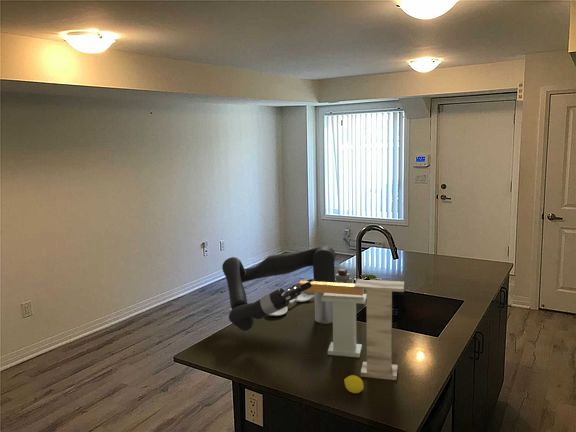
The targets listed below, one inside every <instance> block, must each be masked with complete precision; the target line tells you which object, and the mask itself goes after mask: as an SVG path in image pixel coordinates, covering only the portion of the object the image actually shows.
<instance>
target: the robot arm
mask: <svg viewBox="0 0 576 432" xmlns="http://www.w3.org/2000/svg"><path fill="white" fill-rule="evenodd" d="M335 261H336V251H335V250H334V249H333V247H330V246H328V245H321V246H318V247H314V248H311V249H307V250H303V251H294V252H286V253H279V254H272V255H269V256H268V257H266V258H264V259H263V260H262V261H261V262H259V264H257V265H255V266H252V267H249V268H245V267H244V265H243V263H242V261H241V260H240V259H239V258H238V257H235V256H232V257H229V258H227V259H225V260H224V262H223V263H222V272H223V274H224V276H225V279H226V283H227V289H228V295H229V302H230V308H231V310H230V311H229V314H228V320H229V321H230V323H232V324H233V325H234V326H235V327H236V328H238V330H240V331H243V332H246V331H250V330H251V329H252V327H253V325H254V319H255V320H261V319H264V318H265V317H267V316H270V315H269V314H272V313H275V312H277V311H279V310H281V309H283V308H285V307H287V308H288V306H289V305H290V304H289V301H291V300H293V299H296V298H297V297H298V295H300V294H301V293H302V294H303V293H304V291H305V290H307V289H309V288H310V287H312V285H311V283H310V282H307V283H305V284H303V285H301V286H299V283H300V282H298V283H296V284H293V285H292V286H290V287H287V288H286V290H284V289H283V288H276V290H273V291H272V292H269V293H268V294H266V295H264V296H263V297H262V298H260V299H258V300H256V301H254V302H250V303H248V299H247V294H246V291H245V287H244V284H243V283H246V282H249V281H253V280H257V279H262V278H263V279H264V278H269V277H275V276H282V275H283V276H284V275H287V274H290V273H293V272H296V271H299V270H301V269H303V268H308V267H312V272H313V279H312V278H308V279H307V280H306V281H316V282H332V283H335V279H336V277H335V275H336V274H335ZM314 295H315V297H314V320H315V322H316V323H319V324H325V325H327V324H333V305H332V302H328V301H321V298H322V296H323V295H324V293H319V292H314Z"/></svg>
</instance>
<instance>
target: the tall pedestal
mask: <svg viewBox="0 0 576 432" xmlns="http://www.w3.org/2000/svg"><path fill="white" fill-rule="evenodd" d="M354 284H355V285H354V289H359V290H366V293H367V298H366V361H362V364H361V365H362V366H361V369H360V378H374V379H379V380H380V379H382V380H392V381H397V377H398V366H399V365H398V364H394V363H393V364H392V361H393V360H392V359H393V358H392V357H393V355H392V351H393V349H392V348H393V347H392V346H393V345H392V343H393V342H392V341H393V332H392V331H393V329H392V328H393V292H399V293H401V292H402V293H404V292H405V281H400V280H382V279H379V280H378V279H377V280H363V279H360V278H356V280H355V283H354Z"/></svg>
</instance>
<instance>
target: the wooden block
mask: <svg viewBox="0 0 576 432" xmlns="http://www.w3.org/2000/svg"><path fill="white" fill-rule="evenodd" d="M307 282H310V283H311V285H312V287H310V288H309V289H307V290H305V291H303V293H305V292H306V293H315V292H319V293H333V294H348V295H362V296H363V294H364V290H359V289H354V285H355V283H352V284H348V283H332V282H316V281H314V280H313V281H307V280H300V281H299V282H298V283H299V286H301V285H303V284H305V283H307Z"/></svg>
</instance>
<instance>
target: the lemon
mask: <svg viewBox="0 0 576 432" xmlns="http://www.w3.org/2000/svg"><path fill="white" fill-rule="evenodd" d="M343 381H344V386H345V389H346V390H347V392H350V393H352V394H359V393H360V392H362V391H363V390H364V381H363V380H362V378H361V377H359V376H357V375H355V374H352V375H349V376H347V377H345V378H344V380H343Z"/></svg>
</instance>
